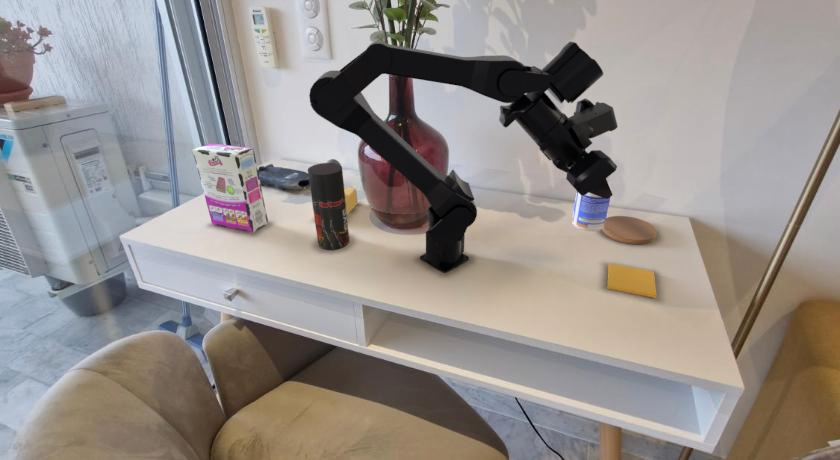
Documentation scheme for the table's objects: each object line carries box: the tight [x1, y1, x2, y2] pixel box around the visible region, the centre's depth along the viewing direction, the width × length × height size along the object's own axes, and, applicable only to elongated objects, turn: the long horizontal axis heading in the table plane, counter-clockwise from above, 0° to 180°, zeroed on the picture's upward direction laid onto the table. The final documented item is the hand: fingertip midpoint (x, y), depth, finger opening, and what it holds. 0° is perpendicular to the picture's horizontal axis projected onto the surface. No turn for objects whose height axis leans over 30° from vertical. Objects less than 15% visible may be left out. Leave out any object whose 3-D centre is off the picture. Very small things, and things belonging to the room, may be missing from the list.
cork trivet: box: [601, 215, 658, 245], centre depth 86 cm, size 10×10×1 cm
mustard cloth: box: [606, 263, 657, 299], centre depth 71 cm, size 7×7×1 cm
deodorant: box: [307, 162, 350, 251], centre depth 80 cm, size 6×6×15 cm
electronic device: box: [257, 163, 310, 192], centre depth 109 cm, size 9×6×15 cm
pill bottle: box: [571, 175, 613, 232], centre depth 73 cm, size 5×5×10 cm
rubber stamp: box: [325, 158, 359, 216], centre depth 93 cm, size 10×6×12 cm, turn 167°
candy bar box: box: [191, 142, 269, 234], centre depth 87 cm, size 11×5×16 cm, turn 68°
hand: (602, 189), depth 72 cm, fingers closed on pill bottle, 5 cm apart
